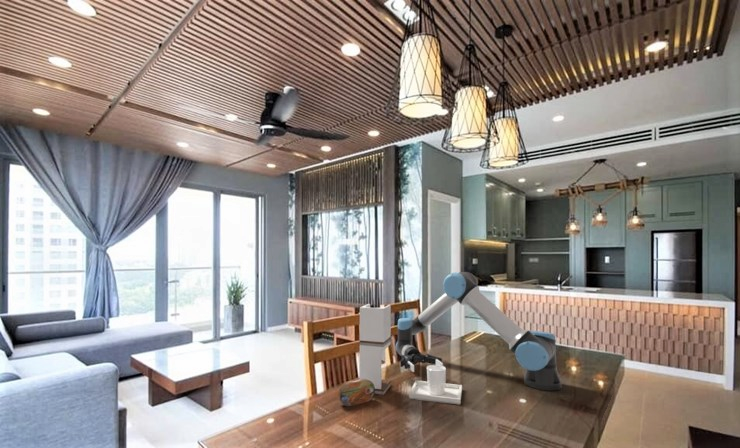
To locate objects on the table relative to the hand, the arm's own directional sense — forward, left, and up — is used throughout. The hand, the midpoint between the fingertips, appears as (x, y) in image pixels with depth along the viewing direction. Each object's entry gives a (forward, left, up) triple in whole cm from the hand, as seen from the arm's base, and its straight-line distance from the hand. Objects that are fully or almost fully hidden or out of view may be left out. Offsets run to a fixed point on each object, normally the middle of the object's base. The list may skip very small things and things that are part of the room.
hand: (428, 367), depth 160 cm
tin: (+25, +25, -8) cm, 36 cm away
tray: (-4, +7, -8) cm, 12 cm away
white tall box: (+22, +8, -8) cm, 25 cm away
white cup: (-4, +7, -8) cm, 11 cm away
